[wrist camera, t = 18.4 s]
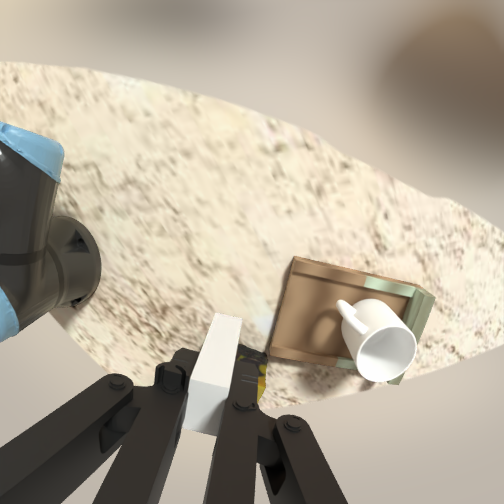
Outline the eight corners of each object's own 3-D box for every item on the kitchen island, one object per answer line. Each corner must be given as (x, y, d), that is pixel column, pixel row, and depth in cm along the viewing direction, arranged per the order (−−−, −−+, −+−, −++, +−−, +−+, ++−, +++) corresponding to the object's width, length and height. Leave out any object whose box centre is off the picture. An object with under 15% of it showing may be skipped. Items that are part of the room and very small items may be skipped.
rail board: (269, 346, 50) (269, 366, 44) (294, 255, 47) (298, 266, 41) (387, 366, 50) (398, 384, 44) (419, 285, 47) (435, 297, 41)
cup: (364, 355, 47) (382, 392, 37) (311, 311, 46) (321, 344, 36) (401, 318, 46) (428, 348, 36) (350, 270, 45) (372, 293, 35)
